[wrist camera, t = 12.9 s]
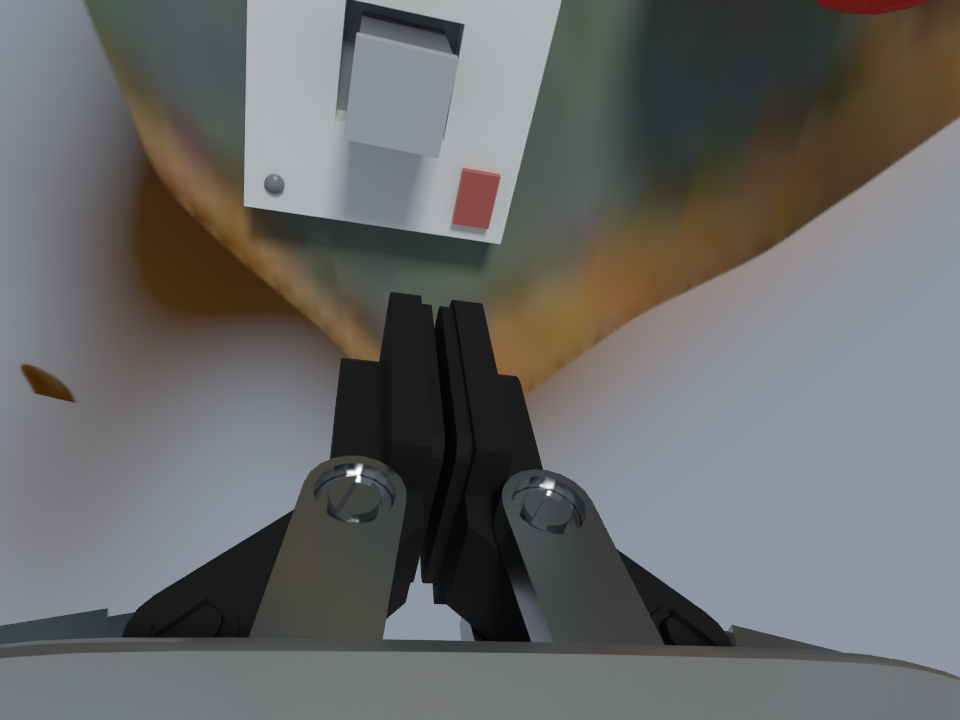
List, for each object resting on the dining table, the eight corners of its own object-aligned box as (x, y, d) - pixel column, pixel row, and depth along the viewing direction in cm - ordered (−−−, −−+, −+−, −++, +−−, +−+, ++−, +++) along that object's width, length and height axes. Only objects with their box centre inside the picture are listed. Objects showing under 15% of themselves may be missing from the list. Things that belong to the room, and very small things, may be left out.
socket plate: (570, -87, 32) (585, -85, 29) (494, 225, 40) (501, 248, 38) (259, -169, 29) (248, -173, 26) (251, 188, 37) (242, 209, 35)
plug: (446, 28, 33) (458, 59, 28) (430, 113, 36) (438, 158, 30) (361, 8, 32) (356, 35, 27) (350, 96, 35) (343, 139, 29)
